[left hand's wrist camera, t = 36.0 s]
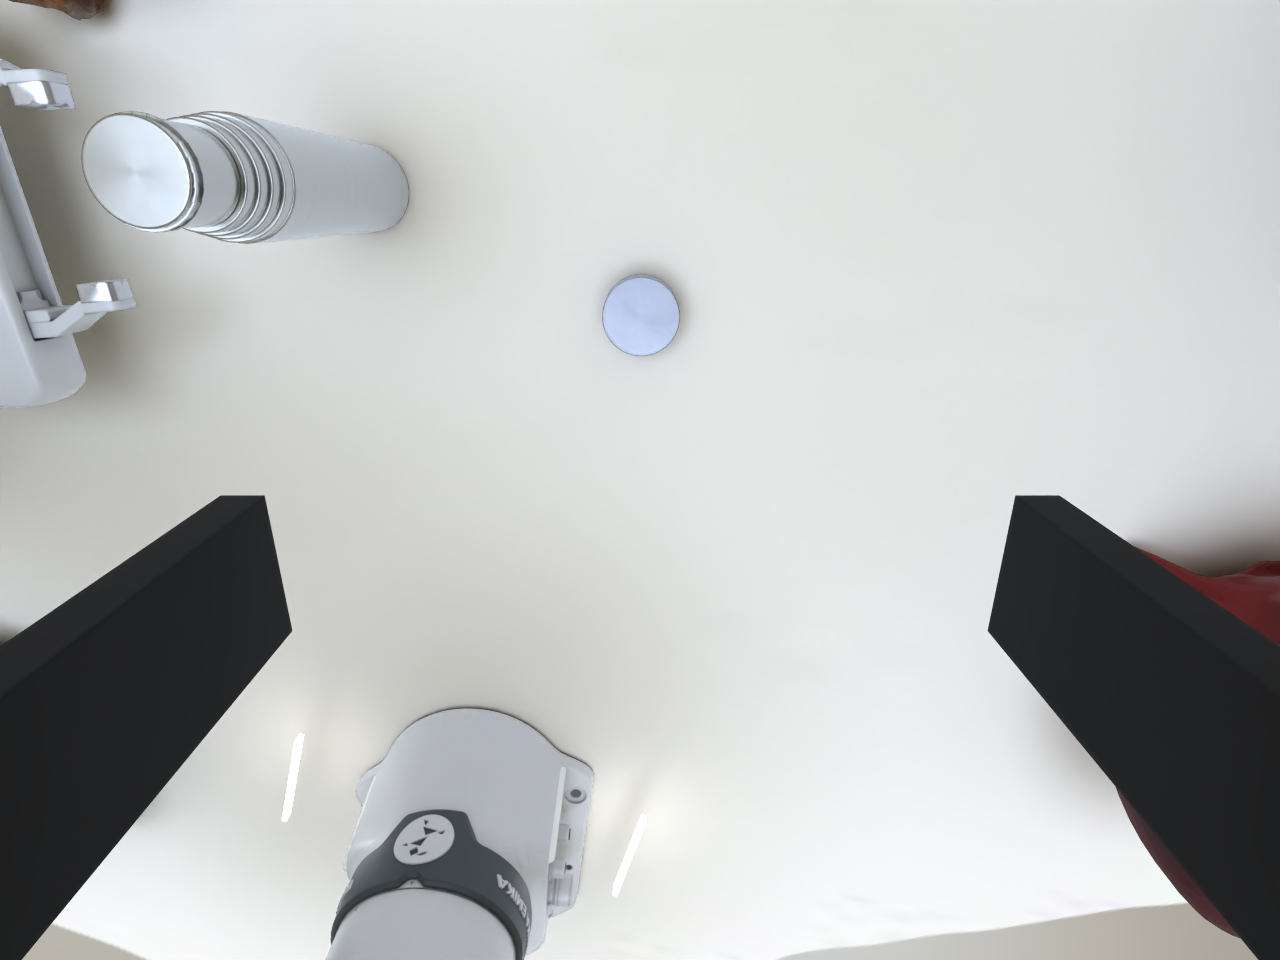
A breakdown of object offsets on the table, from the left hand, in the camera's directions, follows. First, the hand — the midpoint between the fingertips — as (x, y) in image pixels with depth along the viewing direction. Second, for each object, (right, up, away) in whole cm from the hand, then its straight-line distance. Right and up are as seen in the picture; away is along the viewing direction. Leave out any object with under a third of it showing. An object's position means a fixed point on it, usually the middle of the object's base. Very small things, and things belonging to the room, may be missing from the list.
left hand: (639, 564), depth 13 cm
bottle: (-16, +18, +29) cm, 37 cm away
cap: (0, +11, +29) cm, 31 cm away
